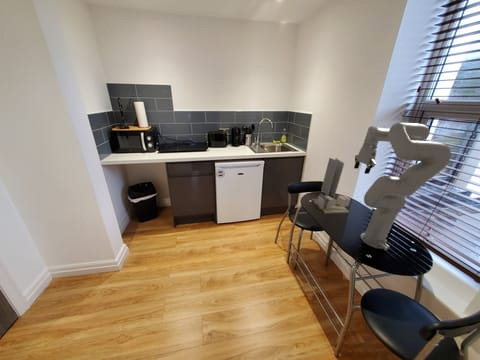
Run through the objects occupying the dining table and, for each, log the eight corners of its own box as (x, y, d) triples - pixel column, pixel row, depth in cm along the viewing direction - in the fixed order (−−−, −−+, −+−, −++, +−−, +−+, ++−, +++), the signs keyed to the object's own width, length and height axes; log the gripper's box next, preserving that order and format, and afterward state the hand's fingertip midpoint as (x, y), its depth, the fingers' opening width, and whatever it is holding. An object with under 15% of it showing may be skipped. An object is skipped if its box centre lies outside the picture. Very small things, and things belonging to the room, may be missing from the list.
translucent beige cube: (348, 206, 141) (350, 199, 138) (341, 206, 140) (343, 199, 137) (342, 202, 146) (345, 195, 144) (336, 202, 145) (338, 195, 143)
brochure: (334, 197, 155) (344, 163, 143) (327, 197, 155) (337, 163, 143) (327, 190, 168) (336, 158, 156) (321, 189, 168) (329, 157, 156)
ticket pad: (333, 208, 137) (336, 199, 134) (322, 208, 135) (324, 200, 133) (326, 201, 146) (328, 193, 143) (315, 201, 144) (317, 193, 141)
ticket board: (349, 212, 135) (349, 211, 134) (325, 213, 132) (325, 212, 131) (333, 199, 152) (333, 198, 151) (311, 200, 149) (311, 198, 148)
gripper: (385, 149, 114) (376, 175, 121) (364, 143, 130) (356, 166, 137) (375, 149, 113) (365, 175, 120) (354, 143, 128) (347, 166, 135)
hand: (361, 170), depth 128 cm, fingers open, 9 cm apart
